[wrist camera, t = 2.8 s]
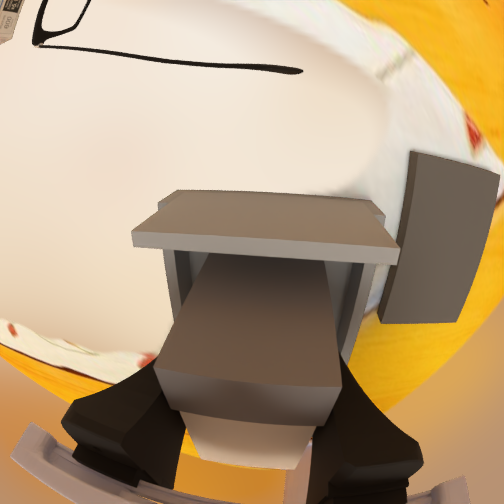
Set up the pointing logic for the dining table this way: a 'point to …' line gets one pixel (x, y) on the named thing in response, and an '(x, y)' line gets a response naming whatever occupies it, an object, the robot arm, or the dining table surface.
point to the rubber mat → (438, 240)
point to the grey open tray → (274, 242)
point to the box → (253, 359)
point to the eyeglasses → (42, 35)
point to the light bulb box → (9, 18)
